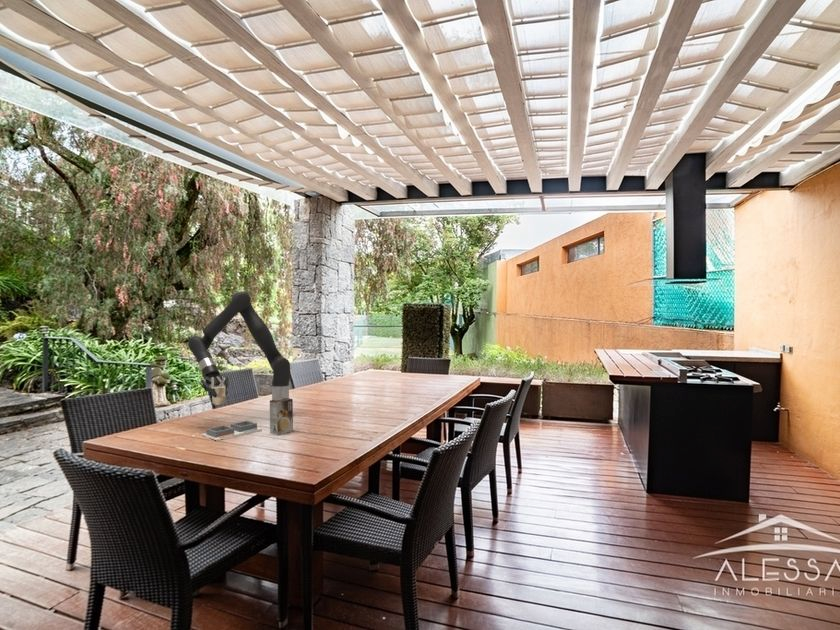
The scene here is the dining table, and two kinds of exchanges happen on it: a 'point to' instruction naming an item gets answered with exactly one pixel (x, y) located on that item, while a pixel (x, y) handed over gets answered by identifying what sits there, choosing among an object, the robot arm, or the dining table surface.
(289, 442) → the dining table surface
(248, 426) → the socket board
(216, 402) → the plug
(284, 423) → the coffee box
